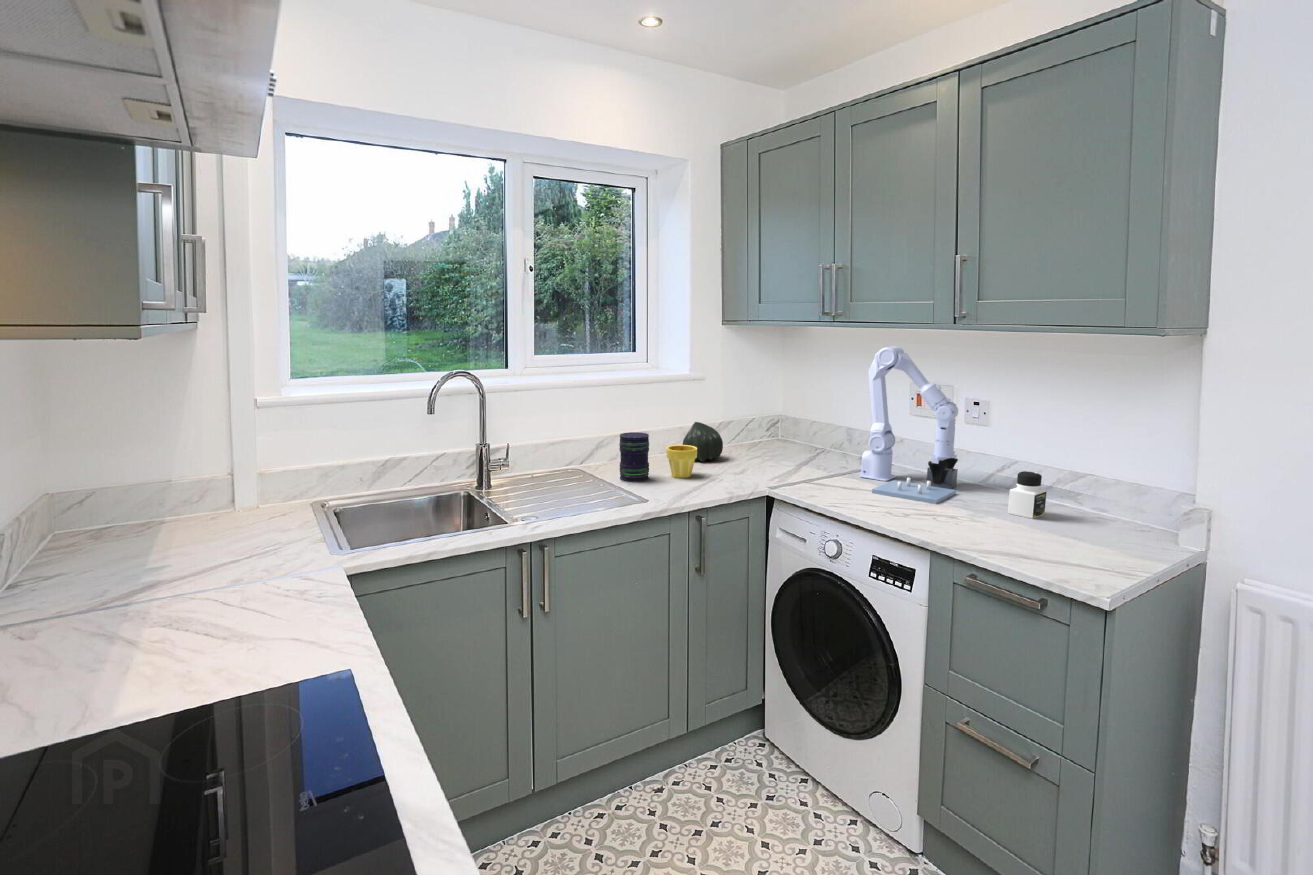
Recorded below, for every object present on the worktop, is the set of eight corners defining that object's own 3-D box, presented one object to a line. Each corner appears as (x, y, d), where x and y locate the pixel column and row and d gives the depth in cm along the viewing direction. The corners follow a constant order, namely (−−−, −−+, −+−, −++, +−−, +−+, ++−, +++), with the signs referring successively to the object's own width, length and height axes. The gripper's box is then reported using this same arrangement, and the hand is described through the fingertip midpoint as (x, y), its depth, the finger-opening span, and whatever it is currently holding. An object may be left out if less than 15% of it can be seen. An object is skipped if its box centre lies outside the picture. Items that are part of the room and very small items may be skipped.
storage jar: (650, 475, 256) (650, 432, 253) (647, 482, 246) (647, 437, 244) (621, 475, 257) (621, 432, 254) (617, 481, 247) (617, 437, 245)
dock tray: (872, 492, 234) (872, 480, 234) (893, 483, 246) (894, 472, 246) (936, 504, 221) (937, 491, 221) (955, 493, 233) (956, 481, 233)
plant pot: (697, 479, 251) (697, 450, 249) (666, 479, 251) (666, 450, 250) (696, 472, 261) (696, 444, 260) (666, 472, 262) (666, 444, 260)
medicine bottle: (1033, 519, 206) (1037, 476, 204) (1007, 513, 212) (1010, 472, 209) (1044, 514, 211) (1048, 472, 209) (1019, 509, 216) (1022, 468, 214)
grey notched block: (926, 485, 244) (927, 467, 243) (931, 483, 247) (932, 465, 246) (951, 489, 239) (952, 471, 238) (956, 487, 242) (957, 468, 241)
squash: (734, 448, 277) (718, 414, 283) (700, 453, 270) (684, 418, 276) (718, 467, 288) (703, 434, 294) (685, 473, 281) (670, 439, 287)
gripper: (949, 445, 232) (945, 488, 235) (965, 438, 243) (962, 479, 246) (926, 442, 237) (923, 484, 239) (943, 436, 248) (940, 476, 250)
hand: (941, 482), depth 243 cm, fingers open, 7 cm apart
